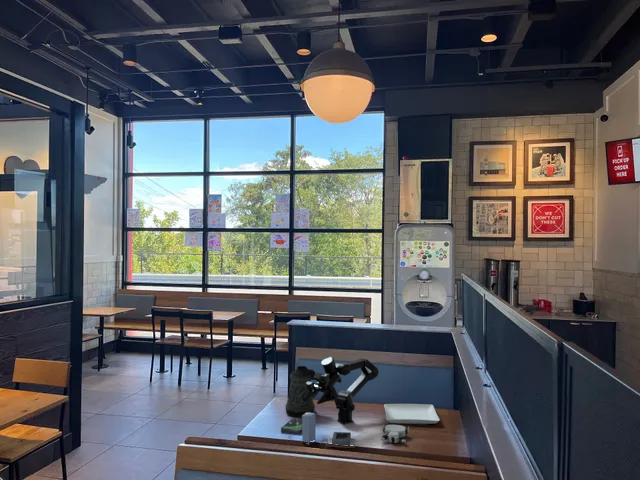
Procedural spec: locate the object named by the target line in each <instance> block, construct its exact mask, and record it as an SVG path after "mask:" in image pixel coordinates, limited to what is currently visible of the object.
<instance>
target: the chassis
mask: <svg viewBox="0 0 640 480" xmlns="http://www.w3.org/2000/svg"><path fill="white" fill-rule="evenodd" d="M327 443H332V444H338V445H348V446H350V445H353V446H357V438H352V432H347V431H346V432H345V431H344V432H343V431H342V432H341V431H333V434H332V437H328V439H327ZM327 443H326V444H327Z"/></svg>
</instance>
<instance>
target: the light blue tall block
mask: <svg viewBox="0 0 640 480" xmlns="http://www.w3.org/2000/svg"><path fill="white" fill-rule="evenodd" d="M301 420H302V433H301V435H302V437H301V438H302V439H301V440H302V441H306V442H308V443H306V444H305V445H310V444H309V442H310V441H313V440H316V437H317V436H316V413H315V412H314V413H310V412H308V413H305V414H304V415H302V417H301Z"/></svg>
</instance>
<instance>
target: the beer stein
mask: <svg viewBox="0 0 640 480" xmlns="http://www.w3.org/2000/svg"><path fill="white" fill-rule="evenodd" d="M315 374H316V372H315V370H314V369H311V368H310V369H309V368H308V367H307V366H305V365H301V366H300V365H299V366H296V369H295V370H293V371H292V372H291V373H290V374H289V379H290V384H289V391H288V397H287V401H286V404H285V405H284V407H285V413H286V415H287V416H290V417H293V418H294V417H296V418H302V415H304V414H305V413H308V412H310V413H315V411H316V410H315V409H316V405H315V402H314V399H315V397H316V396H317V395H318V394H319V393H320V391H317V392H316V393H315V394H314V396H312V397H310V398H309V399H307V400H304V397H305V394H306V392H307V387H306V385H305V384H306V383H307V382H308V381H309V382H312V381H316V380H315V379H314V376H315Z"/></svg>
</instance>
